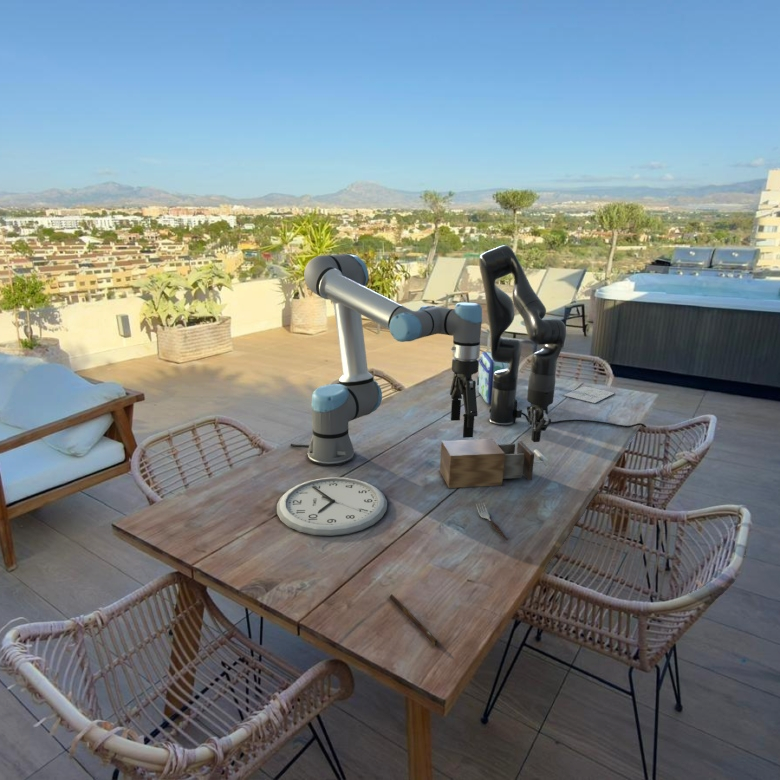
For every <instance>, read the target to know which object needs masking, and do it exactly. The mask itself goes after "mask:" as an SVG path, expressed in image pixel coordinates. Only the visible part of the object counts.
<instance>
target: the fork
mask: <svg viewBox="0 0 780 780" xmlns="http://www.w3.org/2000/svg"><path fill="white" fill-rule="evenodd" d="M475 505H476V509H477V510H478V514H479V516H480V517H481V518H483V519H486V520H488V521H489V522H490V524H491V526H492V528H493V529H494V530H495V531H496V532H497V533H498V534H499V535H500V536H501V537H502V538H503V539H504V540H505V541H508V538H507V537H506V535H505V534H504V533H503V530H502V529H501V528H500V526H499V525H497V524H496V523H495V522H494V521H493V520H491V518H490V517H491V515H490V513H489V510H488V509H487V506H486V505H485V503H484V502H483V503H482V502H480V504H478V503H475Z"/></svg>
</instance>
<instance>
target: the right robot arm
mask: <svg viewBox="0 0 780 780" xmlns="http://www.w3.org/2000/svg"><path fill="white" fill-rule="evenodd" d="M478 266H479V272H480V275H481V276H480V277H481V281H482V285H483V289H484V296H485V306H486V307H485V308H486V314H487V316H486V317H487V321H488V322H487V323H488V327H489V337H490V338H489V339H490V352H491V356H492V359H493V360H494V361H496V362H501V363H508V366H509V367H508V368H505V369H501V370H497V371H495V372H494V374H493V385H492V398H491V404H490V408H489V414H490V415H489V422H490V423H491V424H494V425H497V426H511V425H513V424H516V423H517V419H522V416H523V417H525V418H526V421H527V423H528V425H530V428H531V437H530V440H531V442H533V443H540V441H541V435H542V432H546V430H547V429H548V427H549V426H550V425H553V424H559V423H571V422H572V423H573V422H583V423H585V422H586V423H596V424H602V425H609V426H614V427H620V428H634V427H637V426H642V427H643V428H647V425H645V424H644V423H640V422H637V423H634V424H630V425H625V424H617V423H613V422H607V421H601V420H593V419H560V420H555V421H554V420H553V421H552V419H551V418H548V414H549V406H551V405H552V404H553V403H554V398H555V397H554V396H555V390H556V389H555V388H556V371H557V363H558V358H559V356H560V355H561V351H562V349H563V347H564V344H565V341H566V338H567V327H566V325H565V323H564V321H563V320H561V319H560V318H550V319H549V318H548V319H544V318H545V317H546V315H547V308H546V307H545V305H544V303H543V301H541V299H540V297H539V296H538V295H537V294H536V292H535V290H534V289H533V287H532V285H531V284H530V282H529V279H528V277H527V275H526V273H525V271H524V269H523V267H522V265H521V263H520V261H519V259H518V257H517V255H516V253H515V252H514V250H513V249H512V248H511V246H509V245H506V244H504V245H500V246H497V247H496V248H493V249H489V250H488V251H485V252H484V253H482V254H480V255H479V258H478ZM510 274H511V275H512V278H513V289H512V297H511V296H510V295H508V293H507V292H505V291H503V290H502V289H500V288H499V286H497V284H496V281H497V280H498V279H501V278H504V277H506V276H508V275H510ZM515 309H516V310H517V312H518V314H519V315H520V316H521V318H522V320H523V323H524V327H525V330H526V333H527V337H528V339H529V340H530V341H531V343H533V344H535V345H539V346H542V345H543V347H542V348H541V349H540V350H538V351H535V352H534V353H533V354H532V357H531V363H530V373H529V377H528V385H527V394H526V401H527V402H528V403H529V404H530V405H527V406H526V413H527V414H526V413H524V412H523V409H521V408H519V407H518V399H517V388H518V377H519V370H520V369H519V367H520V361H521V353H522V343H521V341H520V340H519V339H515V338H514V339H513V338H504V337H502V335H503V334H504V333H505V332H506V331H507V330H508V329H509V328H510V326H511V325H512V324H513V322H514V319H515Z"/></svg>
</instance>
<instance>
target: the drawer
mask: <svg viewBox="0 0 780 780" xmlns="http://www.w3.org/2000/svg"><path fill="white" fill-rule="evenodd" d="M496 444H497V445H498V446H499V447H500V448H501V449H502V451H503V452H504V453H505V459H504V470H503V480H505V479H523V476H524V477H525V478H526V479H527V481H531V480H532V479H533V471H534V465H544V466H549V465H550V460H549V459H548V458H547V457H546V456H545V455H544V454H543V453H542V452H541V451H540V450H539V449H534V450H531V449H530V448H529V447H528V446H527V444H525V443H524V442H523V441H522V440H518V441H517V449H516V444H515V443H496ZM515 449H516V450H515ZM515 451H516V453H515ZM535 457H537V459H538V460H537V461H535Z"/></svg>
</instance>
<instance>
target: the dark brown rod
mask: <svg viewBox="0 0 780 780" xmlns="http://www.w3.org/2000/svg"><path fill="white" fill-rule="evenodd" d="M389 599H390V600H391V601H392V603H394V605H396V607H398V609H399V610H400V611H401V612H402V613H403V614H404V615H405V616H406V617H407V618H408V619H409V620H410V621H411V622H412V623H413V624H414V625H415V627H417V628H418V630H420V631H421V633H423V635H424V636H425V637H426V638H427V639H428V640H429V641H430V642H431V643H432V644H433V645H434V646H437V644H438V640H437V639H436V638H435V637H434V635H433V634H431V633H430V632H429V630H428V629H427V628H426V627H425V626H424V625H423V624H421V622H420V621H419V620H418V619H417V618H416V617H415V616H414V615H413V614H412V613H411V612H410V611H409V610H408V609H407V608H406V607H405V606H404V605H403V604H402V603H401V602H400V601H399V599H397V598H396V596H394V595H393V594H392V593H391V594H390V595H389Z"/></svg>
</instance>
